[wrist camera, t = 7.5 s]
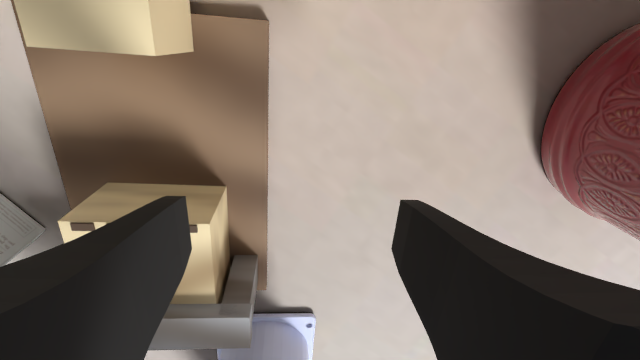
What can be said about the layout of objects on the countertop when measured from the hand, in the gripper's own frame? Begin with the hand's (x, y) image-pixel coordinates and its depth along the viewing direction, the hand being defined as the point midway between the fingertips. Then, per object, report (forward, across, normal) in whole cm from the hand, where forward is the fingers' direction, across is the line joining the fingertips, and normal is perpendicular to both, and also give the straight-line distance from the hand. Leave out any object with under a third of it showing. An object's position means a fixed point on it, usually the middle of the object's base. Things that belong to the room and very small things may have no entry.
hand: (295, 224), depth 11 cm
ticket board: (+10, +8, +3) cm, 13 cm away
